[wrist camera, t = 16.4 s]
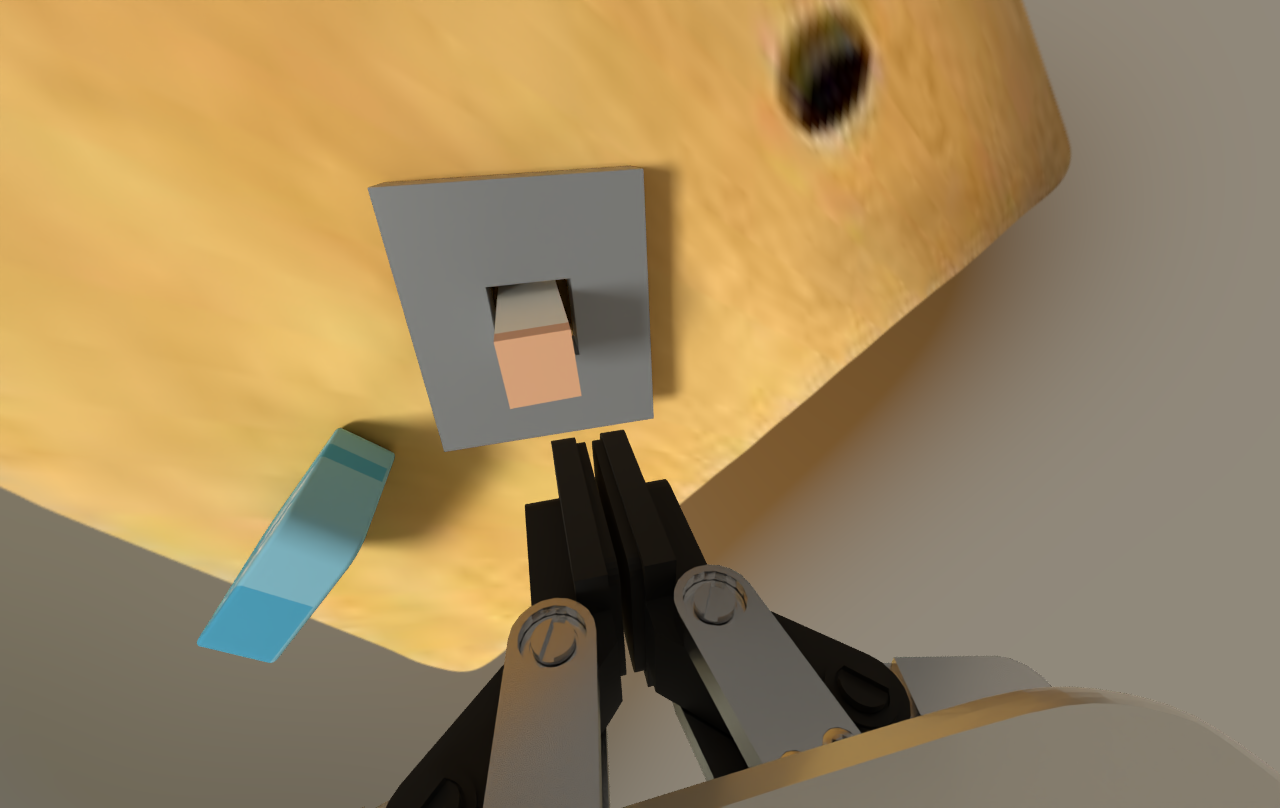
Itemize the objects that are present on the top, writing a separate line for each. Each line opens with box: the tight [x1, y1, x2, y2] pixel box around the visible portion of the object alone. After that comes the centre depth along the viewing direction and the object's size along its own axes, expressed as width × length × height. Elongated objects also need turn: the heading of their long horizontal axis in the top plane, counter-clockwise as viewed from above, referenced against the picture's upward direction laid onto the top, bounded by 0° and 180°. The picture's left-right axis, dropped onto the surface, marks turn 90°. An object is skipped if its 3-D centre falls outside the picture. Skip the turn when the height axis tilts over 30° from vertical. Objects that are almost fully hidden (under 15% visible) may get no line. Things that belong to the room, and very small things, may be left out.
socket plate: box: [368, 166, 654, 452], centre depth 35 cm, size 18×16×4 cm
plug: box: [494, 280, 582, 409], centre depth 32 cm, size 4×4×12 cm
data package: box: [197, 428, 395, 663], centre depth 35 cm, size 12×4×12 cm, turn 139°
